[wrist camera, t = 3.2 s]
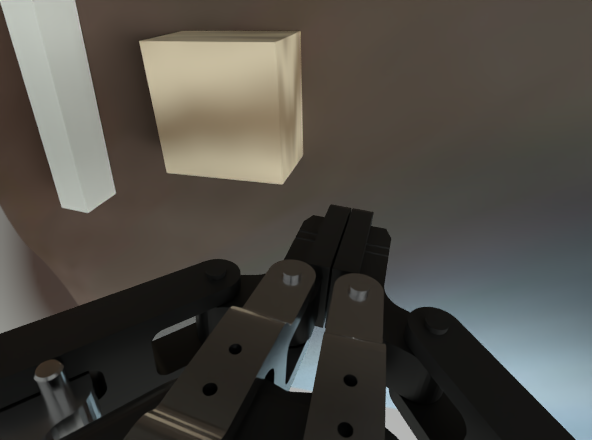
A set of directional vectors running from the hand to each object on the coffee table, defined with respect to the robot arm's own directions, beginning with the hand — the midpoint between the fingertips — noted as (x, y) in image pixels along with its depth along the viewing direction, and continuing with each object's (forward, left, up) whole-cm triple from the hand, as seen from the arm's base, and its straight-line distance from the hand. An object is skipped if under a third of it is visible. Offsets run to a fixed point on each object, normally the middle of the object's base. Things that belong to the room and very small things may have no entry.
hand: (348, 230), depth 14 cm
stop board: (0, -23, -14) cm, 27 cm away
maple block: (0, -9, -14) cm, 17 cm away
